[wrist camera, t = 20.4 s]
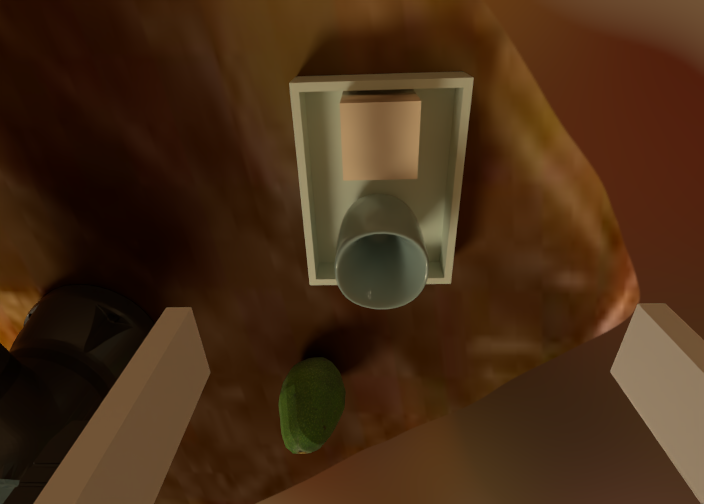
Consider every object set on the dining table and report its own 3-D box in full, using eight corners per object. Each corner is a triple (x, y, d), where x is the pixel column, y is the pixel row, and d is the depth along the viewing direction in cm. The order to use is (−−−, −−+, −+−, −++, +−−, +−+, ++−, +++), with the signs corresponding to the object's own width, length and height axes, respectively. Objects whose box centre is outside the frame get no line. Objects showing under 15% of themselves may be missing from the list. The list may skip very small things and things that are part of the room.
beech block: (346, 158, 38) (343, 180, 33) (343, 90, 35) (339, 103, 30) (410, 156, 38) (417, 179, 33) (412, 88, 35) (421, 101, 30)
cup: (340, 181, 39) (333, 227, 31) (420, 183, 39) (436, 231, 31) (339, 250, 43) (333, 309, 35) (412, 253, 43) (424, 312, 34)
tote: (313, 264, 45) (309, 285, 42) (296, 76, 35) (289, 83, 32) (444, 262, 45) (450, 283, 41) (463, 71, 35) (473, 77, 31)
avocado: (274, 365, 53) (253, 450, 43) (314, 333, 50) (301, 416, 40) (319, 395, 56) (309, 481, 46) (360, 367, 53) (358, 452, 43)
